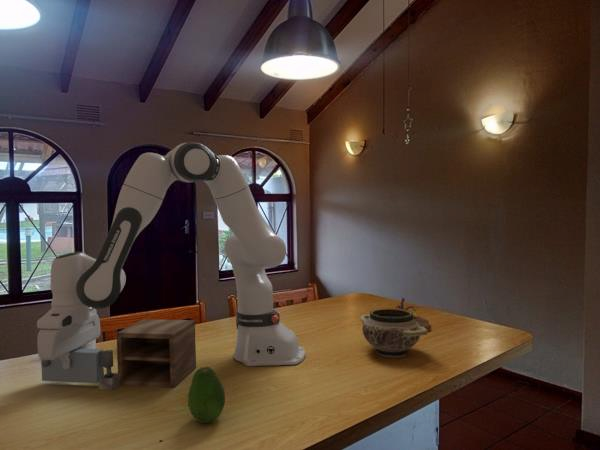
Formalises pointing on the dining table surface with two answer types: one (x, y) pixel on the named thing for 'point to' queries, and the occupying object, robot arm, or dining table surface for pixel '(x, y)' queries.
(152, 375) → the cabinet
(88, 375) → the grey box
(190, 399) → the avocado
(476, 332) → the dining table surface
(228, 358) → the dining table surface
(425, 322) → the plant
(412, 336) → the ceramic bowl
